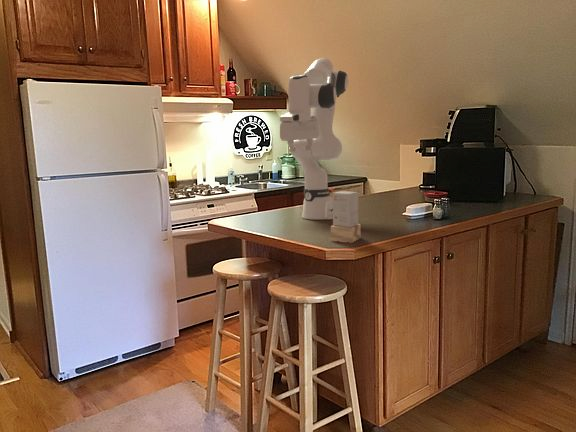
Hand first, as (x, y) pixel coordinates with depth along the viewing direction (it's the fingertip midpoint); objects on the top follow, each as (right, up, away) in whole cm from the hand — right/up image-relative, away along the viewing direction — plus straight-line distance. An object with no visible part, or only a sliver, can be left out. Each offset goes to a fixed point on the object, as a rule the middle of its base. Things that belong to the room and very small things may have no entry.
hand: (300, 151), depth 212 cm
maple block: (+18, -36, -6) cm, 40 cm away
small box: (+18, -30, -7) cm, 36 cm away
